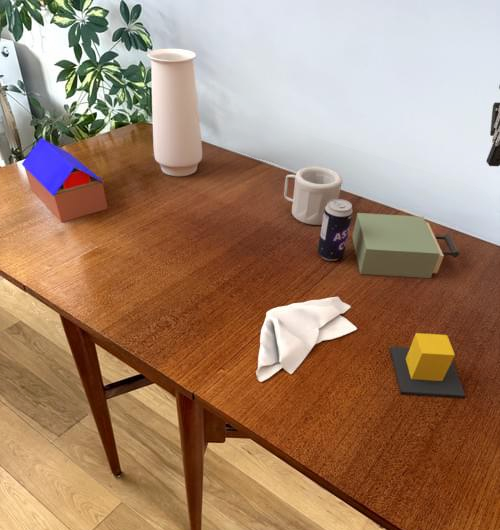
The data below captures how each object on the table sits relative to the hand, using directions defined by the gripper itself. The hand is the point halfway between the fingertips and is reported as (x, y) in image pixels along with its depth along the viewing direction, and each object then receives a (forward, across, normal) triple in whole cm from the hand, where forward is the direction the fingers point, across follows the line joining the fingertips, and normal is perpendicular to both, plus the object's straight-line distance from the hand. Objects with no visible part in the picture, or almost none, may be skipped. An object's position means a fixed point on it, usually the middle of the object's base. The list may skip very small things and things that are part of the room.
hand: (492, 164), depth 88 cm
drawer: (+20, -2, +11) cm, 23 cm away
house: (+20, +15, +91) cm, 94 cm away
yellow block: (+20, -36, +16) cm, 44 cm away
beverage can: (+21, -3, +28) cm, 35 cm away
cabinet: (+20, -2, +15) cm, 26 cm away
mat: (+20, -36, +15) cm, 44 cm away
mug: (+20, +15, +32) cm, 41 cm away
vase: (+20, +36, +67) cm, 79 cm away
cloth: (+20, -28, +36) cm, 50 cm away
